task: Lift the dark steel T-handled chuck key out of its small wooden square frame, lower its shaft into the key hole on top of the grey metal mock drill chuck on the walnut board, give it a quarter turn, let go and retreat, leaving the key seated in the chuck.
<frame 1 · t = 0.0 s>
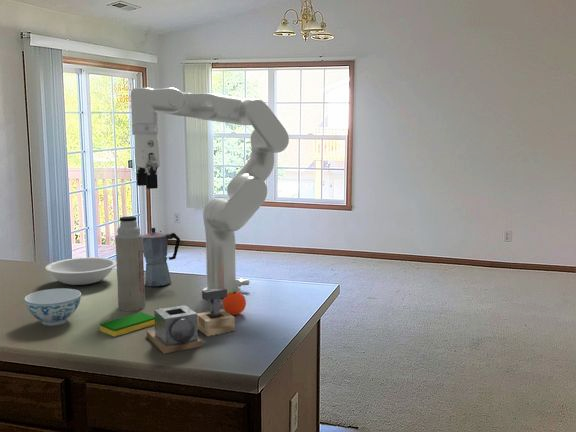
hand: (147, 186, 186), 37 cm above the kitchen counter, tool pointing down, fingers open, 9 cm apart
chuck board: (173, 341, 159), on the kitchen counter
soup bowl: (82, 283, 217), on the kitchen counter
thermos bottle: (131, 307, 189), on the kitchen counter
clementine: (233, 314, 182), on the kitchen counter
wooden square frame: (215, 329, 168), on the kitchen counter
chinaware: (54, 322, 175), on the kitchen counter
moka pot: (159, 284, 216), on the kitchen counter
chuck key: (215, 309, 168), in the wooden square frame
dish sponge: (128, 329, 171), on the kitchen counter
chuck: (170, 320, 160), on the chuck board, point 5 cm above the kitchen counter
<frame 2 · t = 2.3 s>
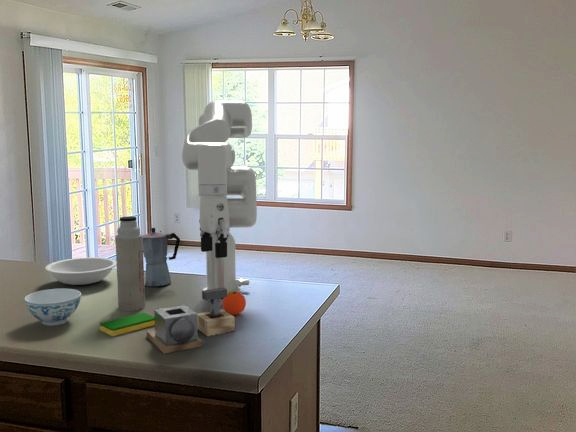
hand: (213, 254, 165), 21 cm above the kitchen counter, tool pointing down, fingers open, 9 cm apart
nothing on the kitchen counter moved.
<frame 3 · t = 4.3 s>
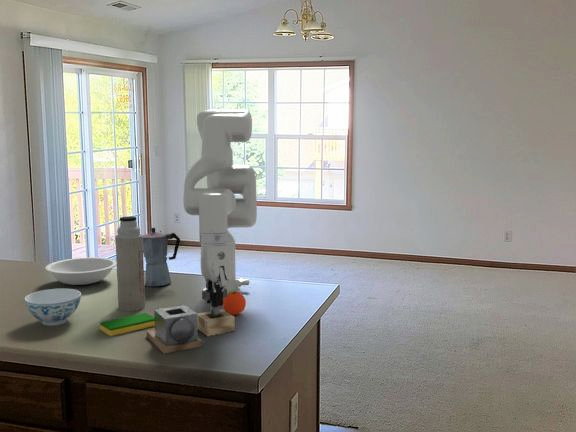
hand: (214, 303, 167), 7 cm above the kitchen counter, tool pointing down, fingers closed on chuck key, 2 cm apart
chuck key: (215, 309, 168), in the wooden square frame, touching gripper
everything else where it was.
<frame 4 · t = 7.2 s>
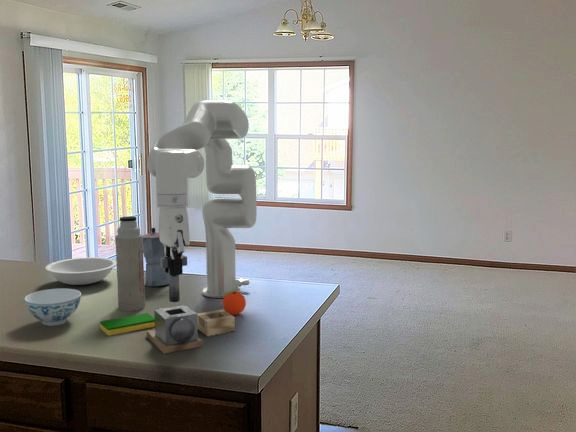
hand: (173, 272, 154), 19 cm above the kitchen counter, tool pointing down, fingers closed on chuck key, 2 cm apart
chuck key: (173, 279, 155), point 17 cm above the kitchen counter, touching gripper
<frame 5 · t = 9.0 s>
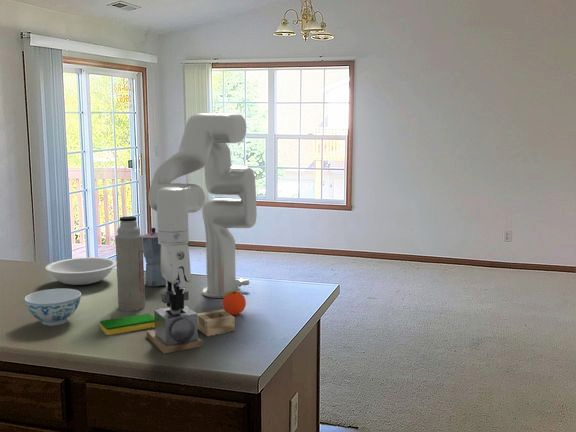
hand: (175, 307, 156), 10 cm above the kitchen counter, tool pointing down, fingers closed on chuck key, 2 cm apart
chuck key: (175, 313, 157), point 8 cm above the kitchen counter, touching gripper
when the fingers open (10 cm above the kitchen counter, at t = 10.2 s): chuck key stays where it is, resting on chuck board.
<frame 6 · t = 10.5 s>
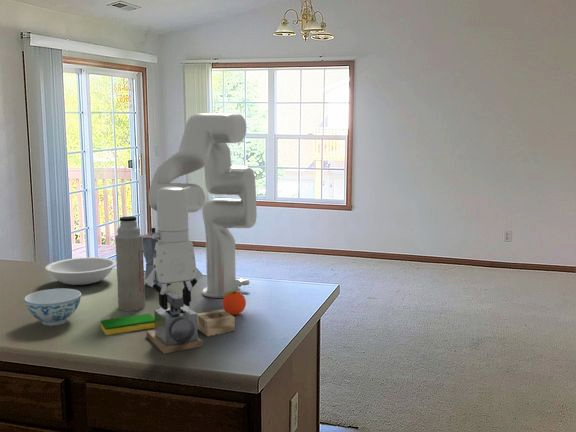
hand: (175, 305, 156), 10 cm above the kitchen counter, tool pointing down, fingers open, 5 cm apart
chuck key: (175, 316, 157), in the chuck, point 7 cm above the kitchen counter, touching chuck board
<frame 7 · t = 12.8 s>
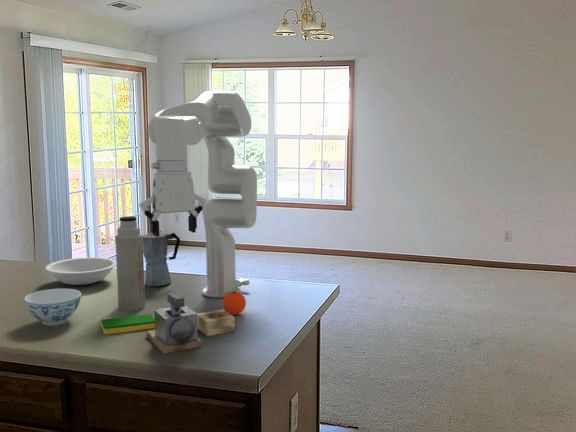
hand: (174, 233, 157), 28 cm above the kitchen counter, tool pointing down, fingers open, 9 cm apart
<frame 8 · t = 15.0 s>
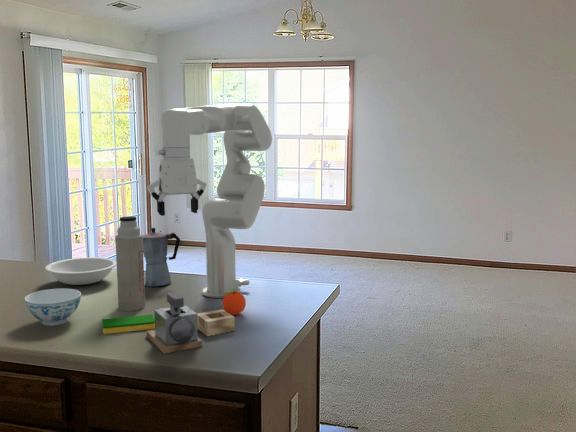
hand: (178, 213, 175), 30 cm above the kitchen counter, tool pointing down, fingers open, 9 cm apart
at the end: chuck key 0.1 cm off-centre on the chuck, point 7.1 cm above the chuck's base; the gripper is holding nothing; chuck key tilted 1° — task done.
